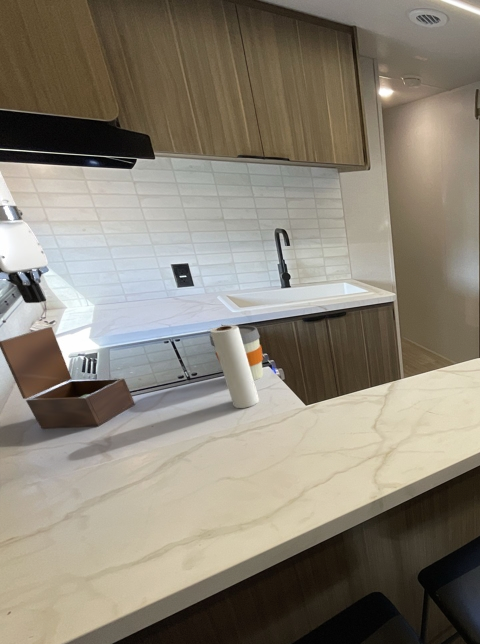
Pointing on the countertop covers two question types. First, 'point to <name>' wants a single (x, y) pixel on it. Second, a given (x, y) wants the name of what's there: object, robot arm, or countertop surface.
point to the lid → (35, 361)
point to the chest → (81, 403)
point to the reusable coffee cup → (250, 349)
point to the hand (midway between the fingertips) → (36, 301)
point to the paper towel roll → (235, 365)
